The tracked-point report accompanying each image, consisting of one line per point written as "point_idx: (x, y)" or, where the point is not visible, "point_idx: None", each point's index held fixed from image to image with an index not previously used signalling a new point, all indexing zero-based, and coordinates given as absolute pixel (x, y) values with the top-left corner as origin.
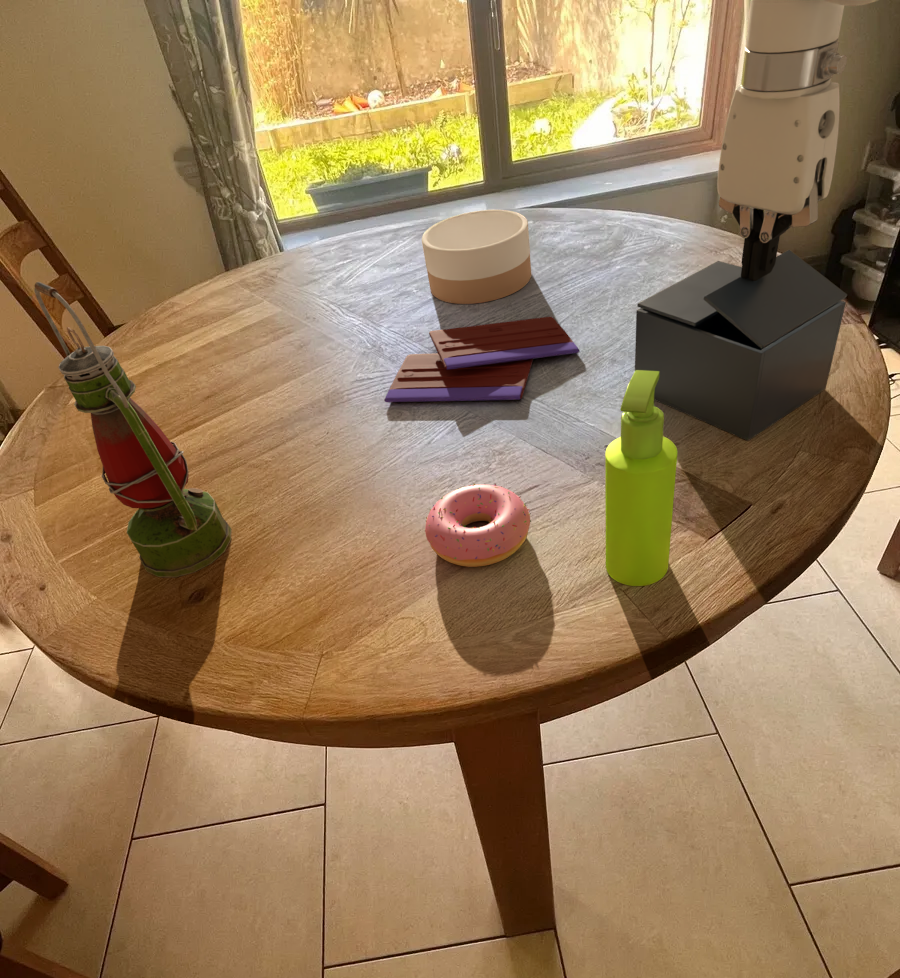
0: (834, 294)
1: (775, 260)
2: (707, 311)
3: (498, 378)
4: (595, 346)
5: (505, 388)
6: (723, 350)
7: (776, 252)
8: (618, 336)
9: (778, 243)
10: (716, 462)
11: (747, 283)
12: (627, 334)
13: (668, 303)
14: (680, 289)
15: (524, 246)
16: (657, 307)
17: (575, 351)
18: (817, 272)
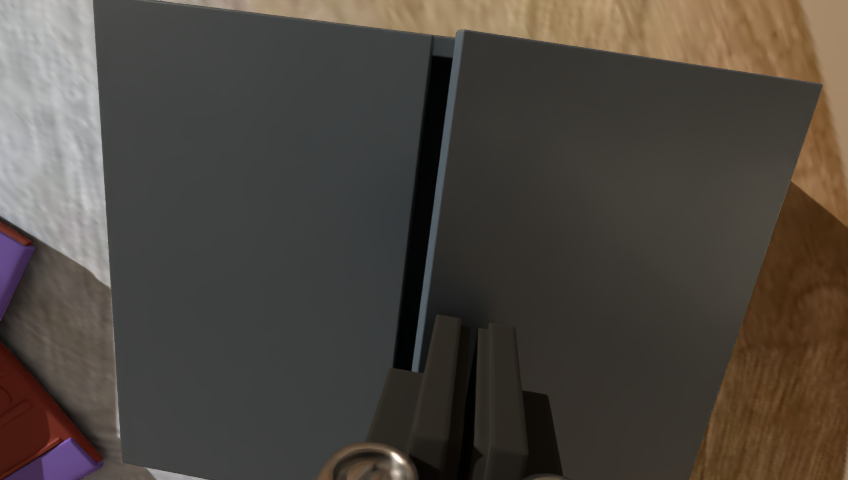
0: (777, 141)
1: (549, 406)
2: (361, 431)
3: (4, 433)
4: (33, 179)
5: (51, 461)
6: None
7: (553, 439)
8: (34, 101)
9: (562, 473)
10: None
11: None
12: (43, 78)
13: (207, 430)
14: (164, 320)
15: None
16: (197, 464)
17: (29, 258)
18: (663, 65)
